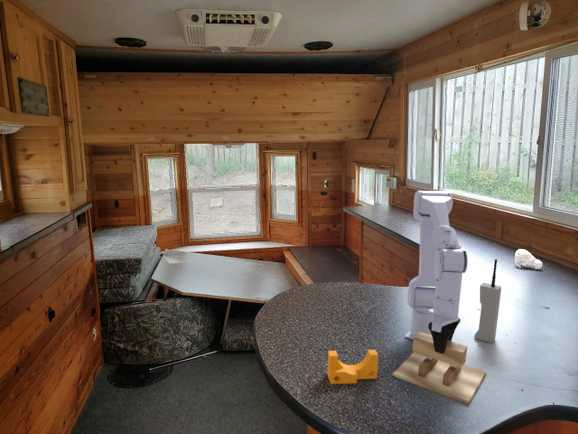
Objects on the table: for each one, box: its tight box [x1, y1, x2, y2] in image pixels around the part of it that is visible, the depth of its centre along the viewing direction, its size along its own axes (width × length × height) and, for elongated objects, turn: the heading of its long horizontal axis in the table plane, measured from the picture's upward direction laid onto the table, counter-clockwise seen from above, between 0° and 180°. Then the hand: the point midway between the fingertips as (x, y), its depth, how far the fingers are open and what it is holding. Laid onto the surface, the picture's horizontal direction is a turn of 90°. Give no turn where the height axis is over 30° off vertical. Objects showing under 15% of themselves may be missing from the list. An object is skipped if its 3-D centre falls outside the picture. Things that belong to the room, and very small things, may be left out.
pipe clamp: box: [326, 349, 379, 385], centre depth 102 cm, size 12×4×6 cm, turn 95°
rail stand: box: [392, 352, 487, 406], centre depth 105 cm, size 16×18×3 cm
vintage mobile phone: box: [474, 258, 502, 344], centre depth 123 cm, size 4×5×25 cm
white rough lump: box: [514, 248, 543, 270], centre depth 198 cm, size 6×8×12 cm
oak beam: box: [411, 332, 469, 368], centre depth 104 cm, size 4×12×4 cm, turn 54°
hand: (442, 348), depth 104 cm, fingers closed on oak beam, 4 cm apart
